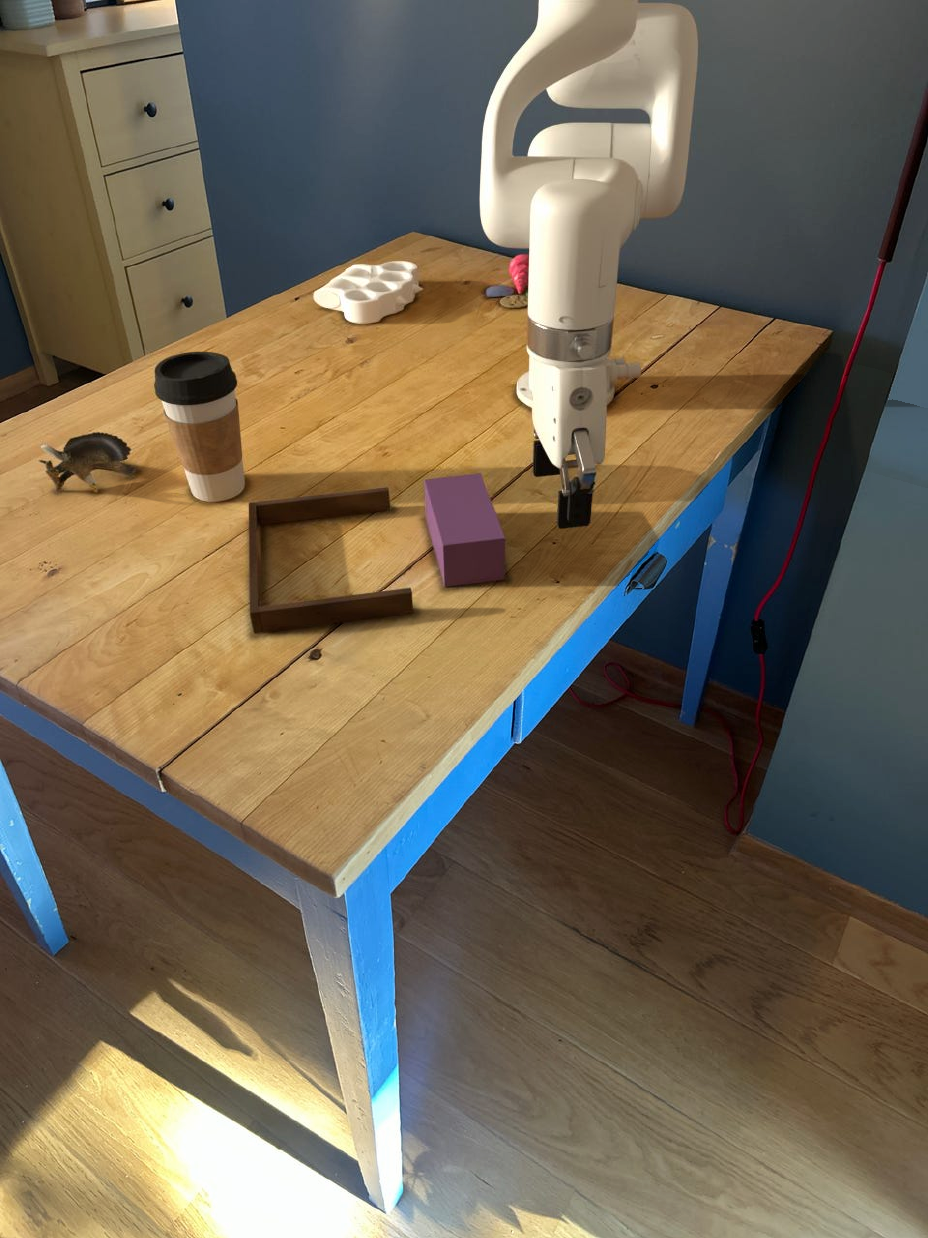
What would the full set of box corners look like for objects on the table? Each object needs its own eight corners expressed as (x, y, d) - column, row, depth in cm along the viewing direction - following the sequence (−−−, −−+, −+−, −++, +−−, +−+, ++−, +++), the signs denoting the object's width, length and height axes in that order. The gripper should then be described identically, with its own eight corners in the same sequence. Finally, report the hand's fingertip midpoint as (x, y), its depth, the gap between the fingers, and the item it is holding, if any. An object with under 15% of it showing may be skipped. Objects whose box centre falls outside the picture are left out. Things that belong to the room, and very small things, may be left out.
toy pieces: (476, 283, 152) (475, 255, 149) (542, 275, 153) (543, 248, 151) (495, 310, 143) (495, 282, 140) (565, 302, 145) (566, 274, 142)
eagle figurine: (66, 506, 101) (142, 467, 104) (29, 446, 99) (107, 408, 102) (67, 508, 108) (138, 472, 111) (32, 453, 106) (105, 417, 109)
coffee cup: (220, 516, 101) (191, 388, 91) (164, 494, 104) (131, 369, 95) (271, 480, 106) (250, 356, 97) (216, 461, 110) (190, 339, 100)
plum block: (481, 512, 101) (480, 472, 97) (504, 579, 91) (505, 537, 88) (426, 519, 100) (423, 478, 97) (444, 587, 91) (442, 545, 88)
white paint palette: (358, 275, 155) (439, 286, 151) (304, 315, 143) (390, 329, 138) (357, 254, 153) (438, 265, 149) (301, 293, 140) (389, 306, 136)
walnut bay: (389, 506, 102) (388, 486, 100) (413, 613, 88) (411, 592, 86) (252, 522, 100) (248, 502, 98) (253, 634, 86) (249, 613, 84)
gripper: (641, 371, 77) (622, 543, 88) (583, 295, 90) (573, 453, 101) (552, 380, 76) (544, 552, 87) (507, 302, 89) (505, 460, 100)
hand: (560, 499), depth 94 cm, fingers open, 9 cm apart
